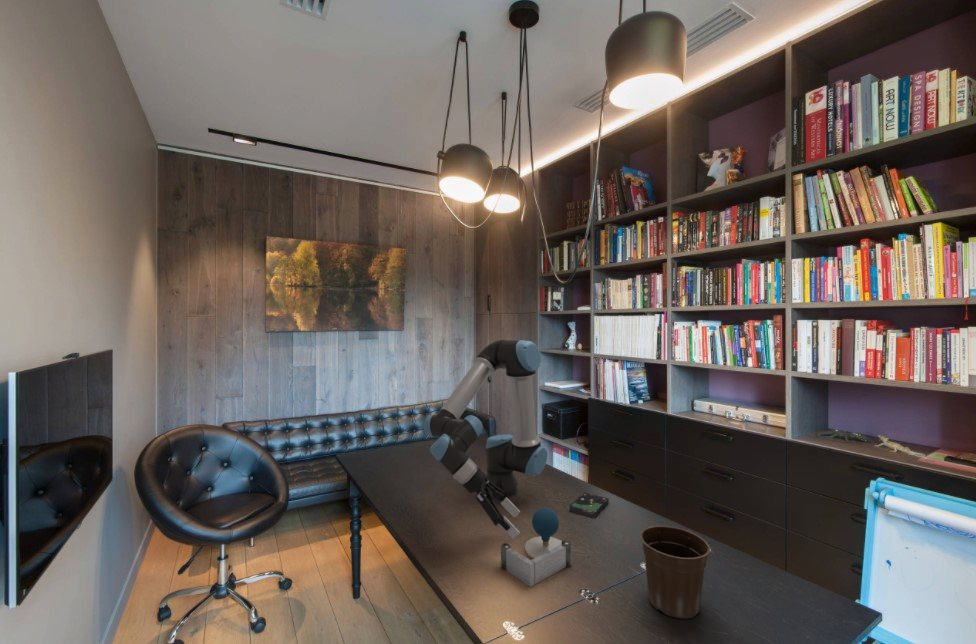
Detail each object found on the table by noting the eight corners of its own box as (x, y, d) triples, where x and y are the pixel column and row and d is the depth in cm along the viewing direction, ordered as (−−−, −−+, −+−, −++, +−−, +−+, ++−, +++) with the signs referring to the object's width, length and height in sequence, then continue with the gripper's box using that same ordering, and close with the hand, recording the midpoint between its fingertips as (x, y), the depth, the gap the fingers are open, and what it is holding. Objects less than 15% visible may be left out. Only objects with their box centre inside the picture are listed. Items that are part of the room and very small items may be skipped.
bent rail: (541, 546, 135) (541, 526, 135) (573, 564, 125) (573, 543, 125) (498, 567, 124) (498, 545, 124) (530, 588, 114) (530, 565, 114)
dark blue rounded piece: (538, 556, 128) (538, 517, 128) (528, 542, 136) (527, 505, 136) (563, 551, 130) (563, 513, 130) (552, 537, 138) (552, 501, 138)
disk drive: (583, 499, 172) (569, 512, 160) (583, 492, 172) (569, 505, 160) (609, 505, 167) (595, 519, 154) (608, 498, 167) (595, 511, 154)
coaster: (544, 535, 142) (544, 532, 142) (575, 551, 132) (575, 548, 132) (516, 548, 134) (516, 545, 134) (546, 566, 124) (546, 563, 124)
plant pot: (689, 582, 117) (689, 524, 116) (723, 625, 100) (724, 557, 100) (631, 584, 116) (630, 525, 116) (656, 627, 100) (656, 558, 100)
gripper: (467, 470, 148) (509, 514, 147) (455, 500, 123) (506, 554, 122) (482, 455, 148) (525, 499, 146) (473, 483, 123) (525, 536, 121)
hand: (517, 524), depth 134 cm, fingers open, 13 cm apart
